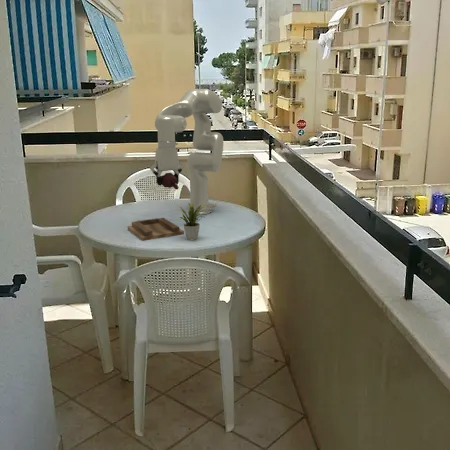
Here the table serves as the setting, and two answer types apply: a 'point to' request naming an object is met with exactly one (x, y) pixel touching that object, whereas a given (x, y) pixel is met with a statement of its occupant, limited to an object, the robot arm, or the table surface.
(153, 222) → the cradle
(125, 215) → the table surface
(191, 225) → the house plant
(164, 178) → the icecream
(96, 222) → the table surface
